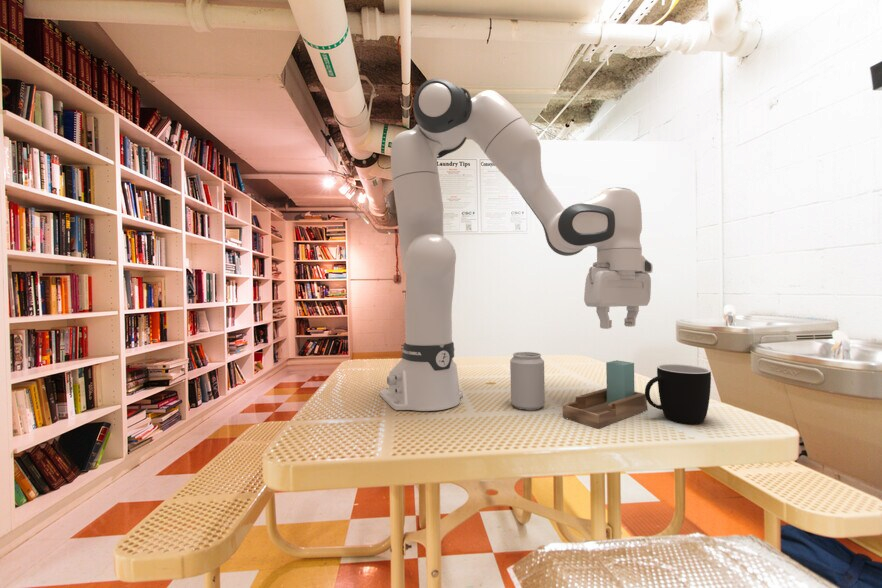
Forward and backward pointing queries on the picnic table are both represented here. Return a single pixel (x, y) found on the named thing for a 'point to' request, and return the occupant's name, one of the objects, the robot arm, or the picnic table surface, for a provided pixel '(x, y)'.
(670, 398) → the mug
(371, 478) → the picnic table surface
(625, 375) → the block
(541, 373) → the can
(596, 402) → the brown wooden tray
